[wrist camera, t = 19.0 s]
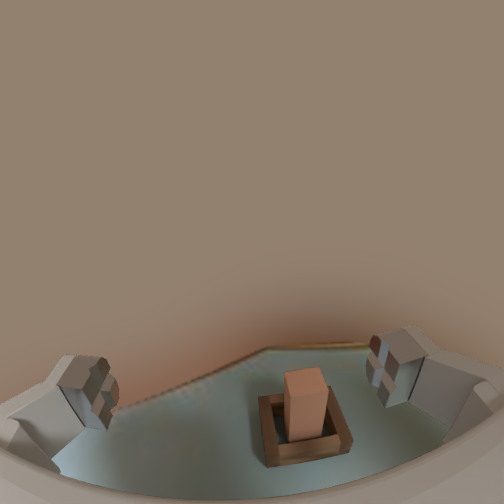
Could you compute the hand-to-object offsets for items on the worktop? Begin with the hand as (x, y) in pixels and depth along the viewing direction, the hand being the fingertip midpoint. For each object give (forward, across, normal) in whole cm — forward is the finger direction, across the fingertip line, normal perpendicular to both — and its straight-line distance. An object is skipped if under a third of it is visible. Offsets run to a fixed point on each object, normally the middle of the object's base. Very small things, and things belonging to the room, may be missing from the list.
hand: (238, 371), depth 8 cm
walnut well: (+15, -6, +26) cm, 31 cm away
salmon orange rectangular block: (+15, -6, +26) cm, 31 cm away
